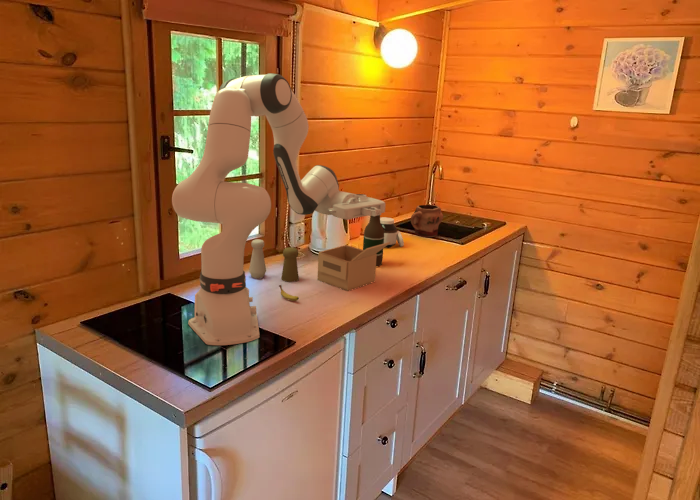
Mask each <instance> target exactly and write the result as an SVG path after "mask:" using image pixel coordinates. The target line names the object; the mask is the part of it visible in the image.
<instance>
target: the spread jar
mask: <svg viewBox="0 0 700 500" xmlns="http://www.w3.org/2000/svg"><path fill="white" fill-rule="evenodd" d="M380 224H381V226H382V227H383V230H384V243H388V242H390V244H388V245H387V246H386V247H384V248H383V249H391V248H393V247H394V246H395V245H396V244H398V246H399V247H404V245H405V242H404V238H403V235H402V233H401V231H400V230H398V228H397V227H396V224H395V219H394V218H392V217H383V216H382V217H381V216H380Z"/></svg>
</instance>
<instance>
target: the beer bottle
mask: <svg viewBox="0 0 700 500" xmlns="http://www.w3.org/2000/svg"><path fill="white" fill-rule="evenodd" d="M380 218H381V215H379V216H370V217H369V221H368V224H367V225H366V226H365V228H364V232H363V241H362V242H363V245H362V250H365V249H366V248H370V247H373V246H377V245H381V244H384V230H383V227H382V226H381V224H380ZM376 254H377V258H376V266H378V267H380V266H382V264H383V257H384V256H383V255H384V248H383V249H382V250H380V251H379V252H377V253H376Z"/></svg>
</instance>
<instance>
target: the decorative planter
mask: <svg viewBox="0 0 700 500" xmlns="http://www.w3.org/2000/svg"><path fill="white" fill-rule="evenodd" d="M441 209H442V208H441V207H440V206H439V205H435V204H434V205H433V204H421V205H417V206H416V209H415V210H414V212H413V213H412V214H411V216H410V217H411V218H410V223H411V225H412V227H413V228H414V233H415V235H416V236H419V237H423V238H433V237H436V236H438V232H439V225H440V224H441V223H442V221H443V219H444V214H443V213H442V210H441Z"/></svg>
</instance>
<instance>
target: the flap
mask: <svg viewBox="0 0 700 500" xmlns="http://www.w3.org/2000/svg"><path fill="white" fill-rule="evenodd" d="M388 244H390V242H388V243H384V244H381V245H377V246H373V247H370V248H366V249H365V250H364V251H362V252H361V253H360V254H358V255H357V256H356V257H354V258H353V259H352V261H354V260H357V259H360V258H364V257H367V256H371V255H374V254H376V253H377V252H379V251H380V250H382V249H383V250H384V249H385V248H384V247H386V246H387V245H388Z"/></svg>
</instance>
